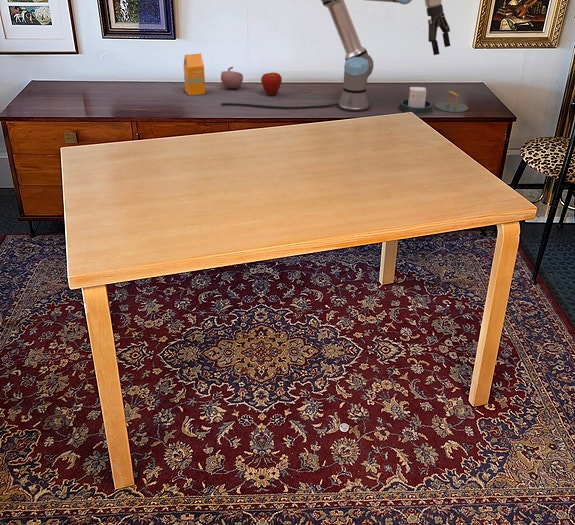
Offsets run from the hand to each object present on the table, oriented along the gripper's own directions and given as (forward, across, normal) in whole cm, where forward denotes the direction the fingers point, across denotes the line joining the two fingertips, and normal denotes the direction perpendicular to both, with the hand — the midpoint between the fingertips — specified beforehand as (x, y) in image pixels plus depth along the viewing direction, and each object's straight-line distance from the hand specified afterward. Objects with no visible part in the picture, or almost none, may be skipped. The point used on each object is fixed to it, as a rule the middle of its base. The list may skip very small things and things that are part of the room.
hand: (442, 50), depth 310 cm
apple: (0, -36, +82) cm, 90 cm away
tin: (+24, -12, +14) cm, 30 cm away
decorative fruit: (-7, -39, +105) cm, 112 cm away
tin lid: (+29, 0, +1) cm, 29 cm away
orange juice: (-12, -57, +115) cm, 129 cm away
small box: (+24, -12, +14) cm, 30 cm away
